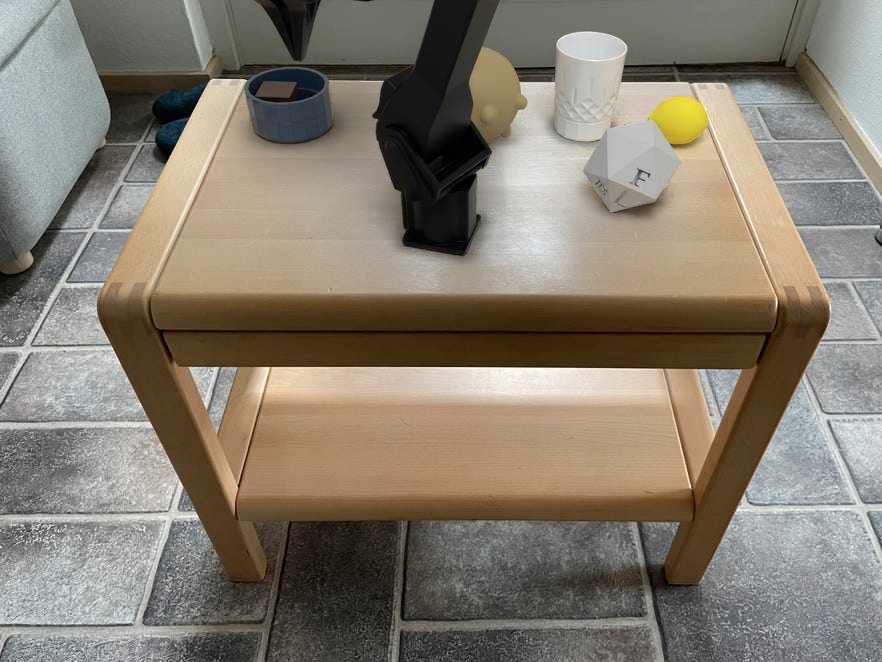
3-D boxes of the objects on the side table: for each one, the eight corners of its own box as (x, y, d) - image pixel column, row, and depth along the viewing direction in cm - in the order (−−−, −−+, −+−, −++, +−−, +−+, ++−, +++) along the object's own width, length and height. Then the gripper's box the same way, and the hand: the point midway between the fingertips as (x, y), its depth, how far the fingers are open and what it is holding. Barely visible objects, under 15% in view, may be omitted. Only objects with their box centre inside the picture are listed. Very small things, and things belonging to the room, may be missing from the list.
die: (564, 206, 79) (602, 168, 70) (587, 134, 82) (627, 88, 72) (635, 236, 81) (681, 203, 71) (656, 165, 83) (703, 123, 73)
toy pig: (498, 151, 93) (457, 74, 92) (553, 105, 83) (507, 18, 82) (438, 177, 88) (394, 95, 87) (489, 131, 78) (439, 38, 77)
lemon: (702, 132, 90) (712, 89, 86) (705, 155, 86) (717, 111, 82) (643, 128, 90) (651, 85, 86) (644, 150, 87) (652, 106, 83)
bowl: (346, 112, 92) (341, 72, 88) (314, 150, 85) (308, 109, 82) (274, 101, 94) (267, 62, 90) (238, 138, 87) (228, 97, 84)
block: (302, 113, 90) (297, 81, 88) (295, 129, 88) (289, 97, 85) (269, 112, 91) (263, 80, 88) (261, 128, 88) (254, 96, 85)
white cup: (622, 142, 88) (636, 58, 81) (557, 147, 87) (566, 62, 80) (604, 111, 93) (615, 29, 86) (542, 115, 92) (549, 33, 85)
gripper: (111, -114, 57) (168, 83, 68) (337, -92, 54) (359, 110, 65) (187, -146, 65) (227, 36, 76) (389, -129, 62) (401, 58, 73)
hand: (299, 59), depth 72 cm, fingers closed
